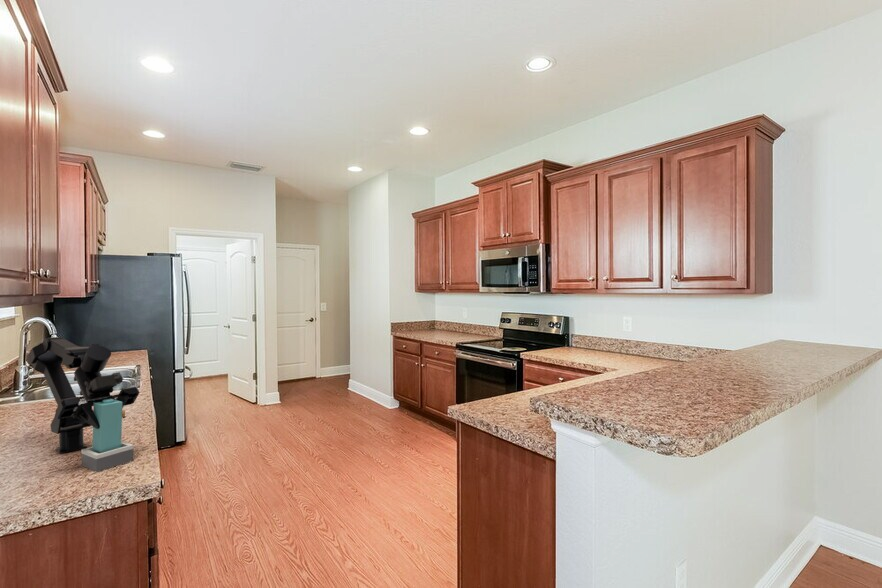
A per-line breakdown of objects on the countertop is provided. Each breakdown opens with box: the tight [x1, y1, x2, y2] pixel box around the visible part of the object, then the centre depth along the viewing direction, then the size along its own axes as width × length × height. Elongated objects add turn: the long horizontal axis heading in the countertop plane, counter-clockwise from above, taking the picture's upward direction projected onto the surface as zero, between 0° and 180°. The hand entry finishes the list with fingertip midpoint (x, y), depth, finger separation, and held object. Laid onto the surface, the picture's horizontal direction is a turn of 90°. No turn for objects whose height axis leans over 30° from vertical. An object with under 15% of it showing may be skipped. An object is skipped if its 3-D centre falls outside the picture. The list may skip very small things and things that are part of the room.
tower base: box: [80, 440, 135, 473], centre depth 122 cm, size 9×9×4 cm
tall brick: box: [91, 399, 123, 452], centre depth 122 cm, size 5×5×14 cm
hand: (109, 425), depth 122 cm, fingers closed on tall brick, 5 cm apart
